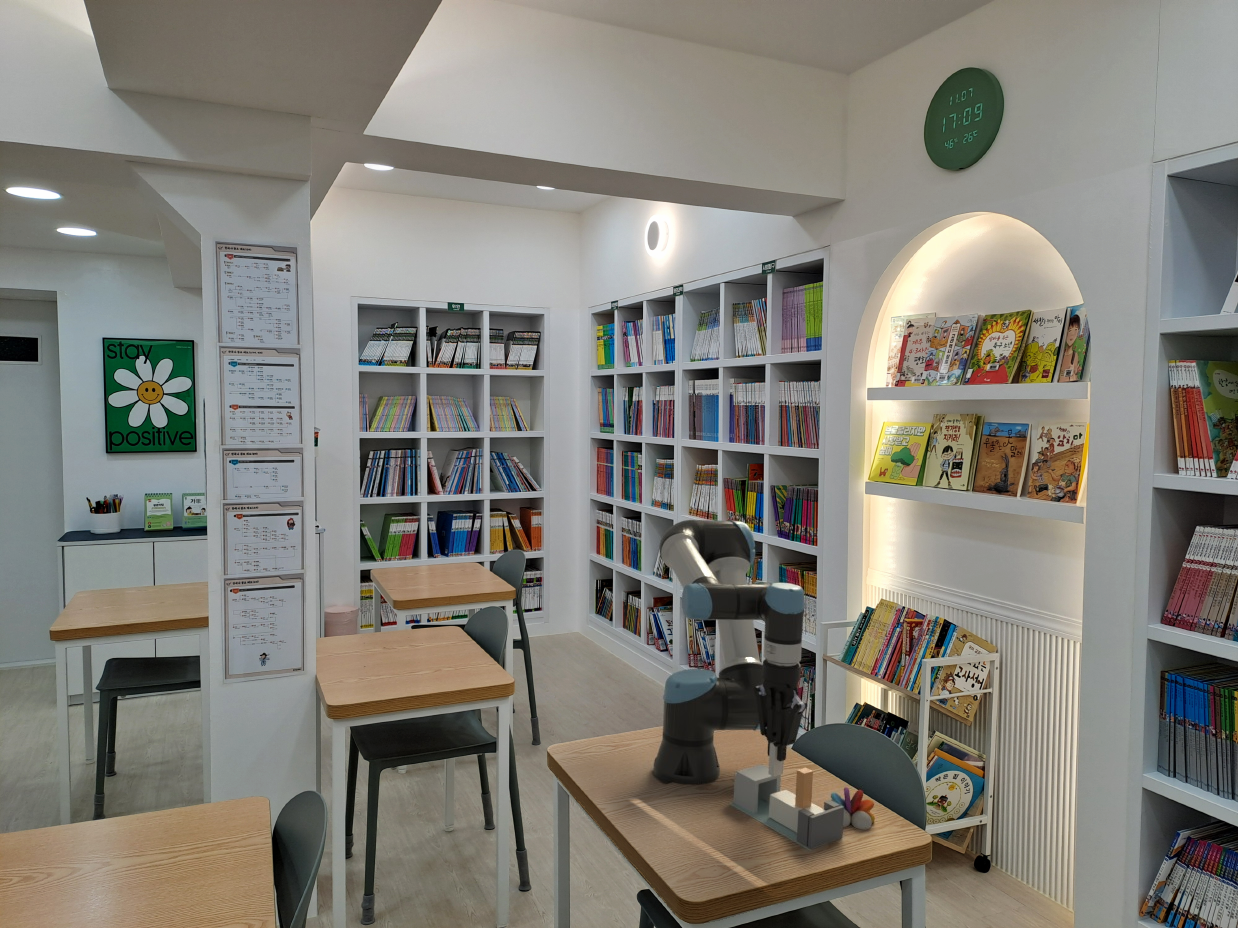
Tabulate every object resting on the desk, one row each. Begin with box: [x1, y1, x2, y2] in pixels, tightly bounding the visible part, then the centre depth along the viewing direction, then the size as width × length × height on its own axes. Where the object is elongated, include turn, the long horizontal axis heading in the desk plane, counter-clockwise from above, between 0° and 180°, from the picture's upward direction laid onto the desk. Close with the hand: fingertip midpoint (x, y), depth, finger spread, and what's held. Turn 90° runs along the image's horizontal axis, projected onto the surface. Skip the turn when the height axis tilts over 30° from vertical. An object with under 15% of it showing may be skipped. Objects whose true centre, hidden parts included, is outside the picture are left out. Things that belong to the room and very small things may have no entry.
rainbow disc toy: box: [830, 787, 876, 830], centre depth 169 cm, size 8×10×7 cm
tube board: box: [728, 763, 845, 851], centre depth 167 cm, size 22×10×8 cm, turn 35°
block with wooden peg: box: [769, 767, 826, 833], centre depth 164 cm, size 12×5×12 cm, turn 35°
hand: (775, 773), depth 169 cm, fingers closed
